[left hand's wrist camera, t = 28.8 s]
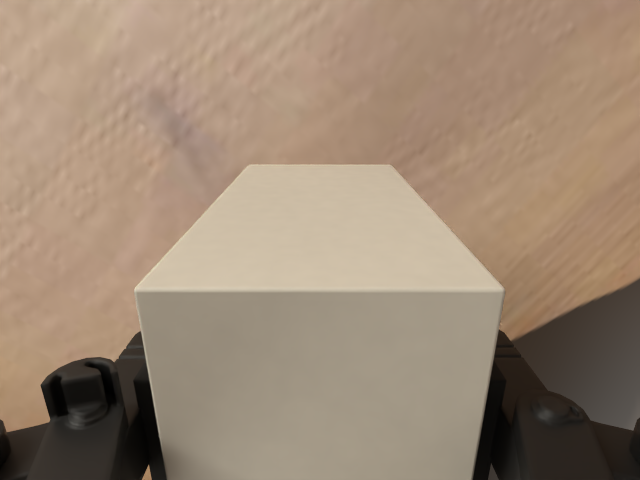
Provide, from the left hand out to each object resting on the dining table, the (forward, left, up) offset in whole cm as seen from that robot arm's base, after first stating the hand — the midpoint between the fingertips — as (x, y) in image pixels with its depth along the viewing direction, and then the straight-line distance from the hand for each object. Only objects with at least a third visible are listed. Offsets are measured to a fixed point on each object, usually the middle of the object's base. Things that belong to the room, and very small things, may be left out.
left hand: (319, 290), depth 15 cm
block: (0, 0, -4) cm, 4 cm away
